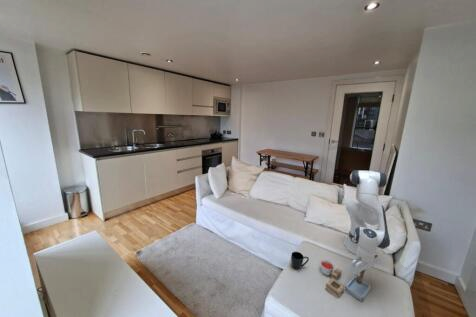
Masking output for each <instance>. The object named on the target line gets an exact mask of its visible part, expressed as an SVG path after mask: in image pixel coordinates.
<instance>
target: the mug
mask: <svg viewBox="0 0 476 317" xmlns="http://www.w3.org/2000/svg"><path fill="white" fill-rule="evenodd" d="M290 256H291V257H290V261H291V262H290V263H291V265H292V266H291V267H292V268H293V269H294V270H296V271H297V270H300V269H301V268H302V267H304V266H305V265H306V264H307V263H308V262H309V257H308V256H304V255H303V254H302V253H301V252H300V251H292V253H291V255H290ZM304 259H306V261H305V262H304Z"/></svg>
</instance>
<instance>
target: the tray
mask: <svg viewBox="0 0 476 317" xmlns="http://www.w3.org/2000/svg"><path fill="white" fill-rule="evenodd" d="M356 279H357V275H355V274H353V277H351V279H350V280H349V281H348V283H347V284H346V285H344V286H345V288H344V292H345V293H348V294H350V295H351V296H353V298H355V299H356V300H358V301H359V302H361V303H363V301H364V300H365V298H366V297H367V296H368V294H369V292H370V291H371V287H372V285H371V284H369V283H367V282H366V281H364V280H362V284H358V283H357V282H356Z"/></svg>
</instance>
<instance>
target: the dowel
mask: <svg viewBox="0 0 476 317" xmlns="http://www.w3.org/2000/svg"><path fill="white" fill-rule="evenodd" d="M364 271H365V270H363V271H361V272H360V273H361V275H360V276H358V275H357V274H356V277H357V279H356V282H357V283H358V284H362V280H363V279H364V275H365V273H364ZM365 272H366V271H365ZM363 281H364V280H363Z"/></svg>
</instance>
